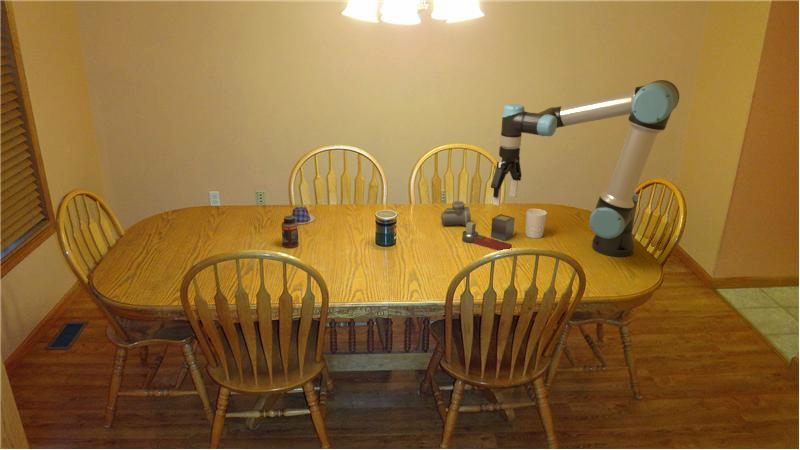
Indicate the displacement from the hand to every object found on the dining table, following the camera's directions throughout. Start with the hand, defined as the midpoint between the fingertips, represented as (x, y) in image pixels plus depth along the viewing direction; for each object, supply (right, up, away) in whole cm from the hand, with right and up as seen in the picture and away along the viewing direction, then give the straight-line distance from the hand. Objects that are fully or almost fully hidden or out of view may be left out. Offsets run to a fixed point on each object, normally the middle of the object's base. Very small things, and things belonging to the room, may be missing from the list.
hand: (504, 200), depth 226 cm
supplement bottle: (-81, -17, -6) cm, 83 cm away
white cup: (+13, -14, +8) cm, 21 cm away
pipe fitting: (-17, -10, +17) cm, 26 cm away
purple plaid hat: (-82, -8, +19) cm, 84 cm away
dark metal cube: (0, -14, +5) cm, 15 cm away
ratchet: (-8, -17, -2) cm, 19 cm away
